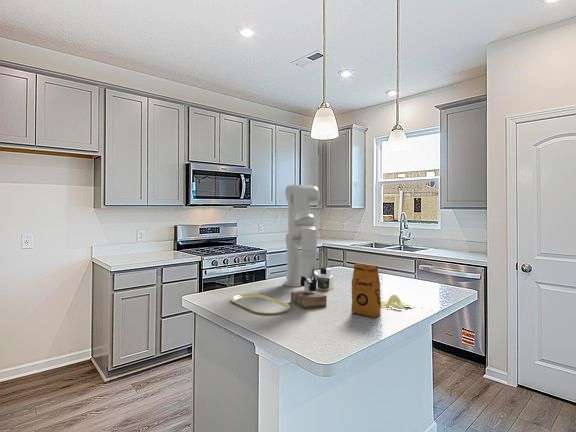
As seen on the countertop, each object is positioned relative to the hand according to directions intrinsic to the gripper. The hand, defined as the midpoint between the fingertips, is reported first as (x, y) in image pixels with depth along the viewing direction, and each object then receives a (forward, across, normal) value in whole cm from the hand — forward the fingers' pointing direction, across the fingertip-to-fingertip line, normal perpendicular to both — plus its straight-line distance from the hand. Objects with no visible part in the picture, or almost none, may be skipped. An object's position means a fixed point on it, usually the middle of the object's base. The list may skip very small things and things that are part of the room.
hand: (308, 288), depth 168 cm
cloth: (+8, +20, +36) cm, 42 cm away
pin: (+6, 0, 0) cm, 6 cm away
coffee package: (+7, +24, +16) cm, 30 cm away
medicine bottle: (+8, -24, +24) cm, 35 cm away
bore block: (+7, 0, 0) cm, 7 cm away
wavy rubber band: (+8, -7, -22) cm, 25 cm away
